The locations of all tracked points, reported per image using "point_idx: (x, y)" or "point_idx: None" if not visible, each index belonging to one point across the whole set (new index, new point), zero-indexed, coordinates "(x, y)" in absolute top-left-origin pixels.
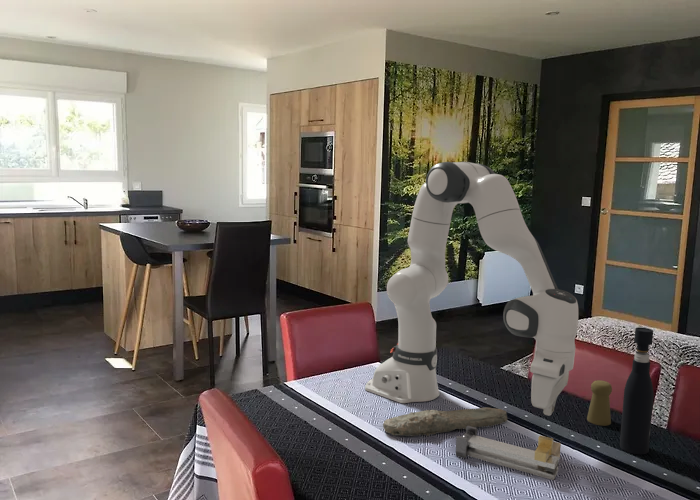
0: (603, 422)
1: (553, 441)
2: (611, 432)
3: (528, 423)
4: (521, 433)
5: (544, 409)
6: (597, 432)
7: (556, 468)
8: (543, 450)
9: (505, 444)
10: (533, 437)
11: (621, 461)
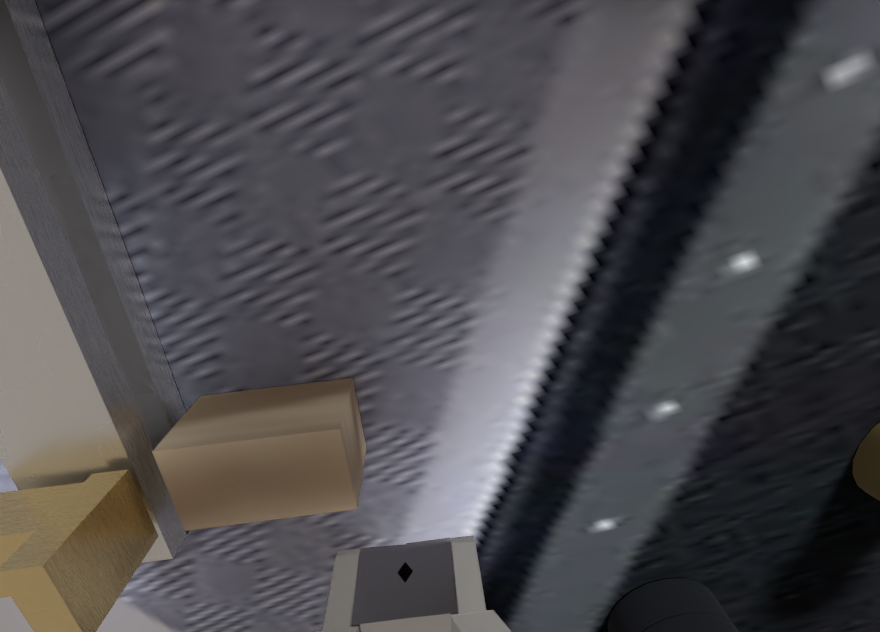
0: (873, 491)
1: (348, 473)
2: (786, 523)
3: (713, 143)
4: (526, 166)
5: (328, 607)
6: (759, 483)
7: None
8: None
9: (11, 249)
10: (514, 254)
11: (511, 616)
